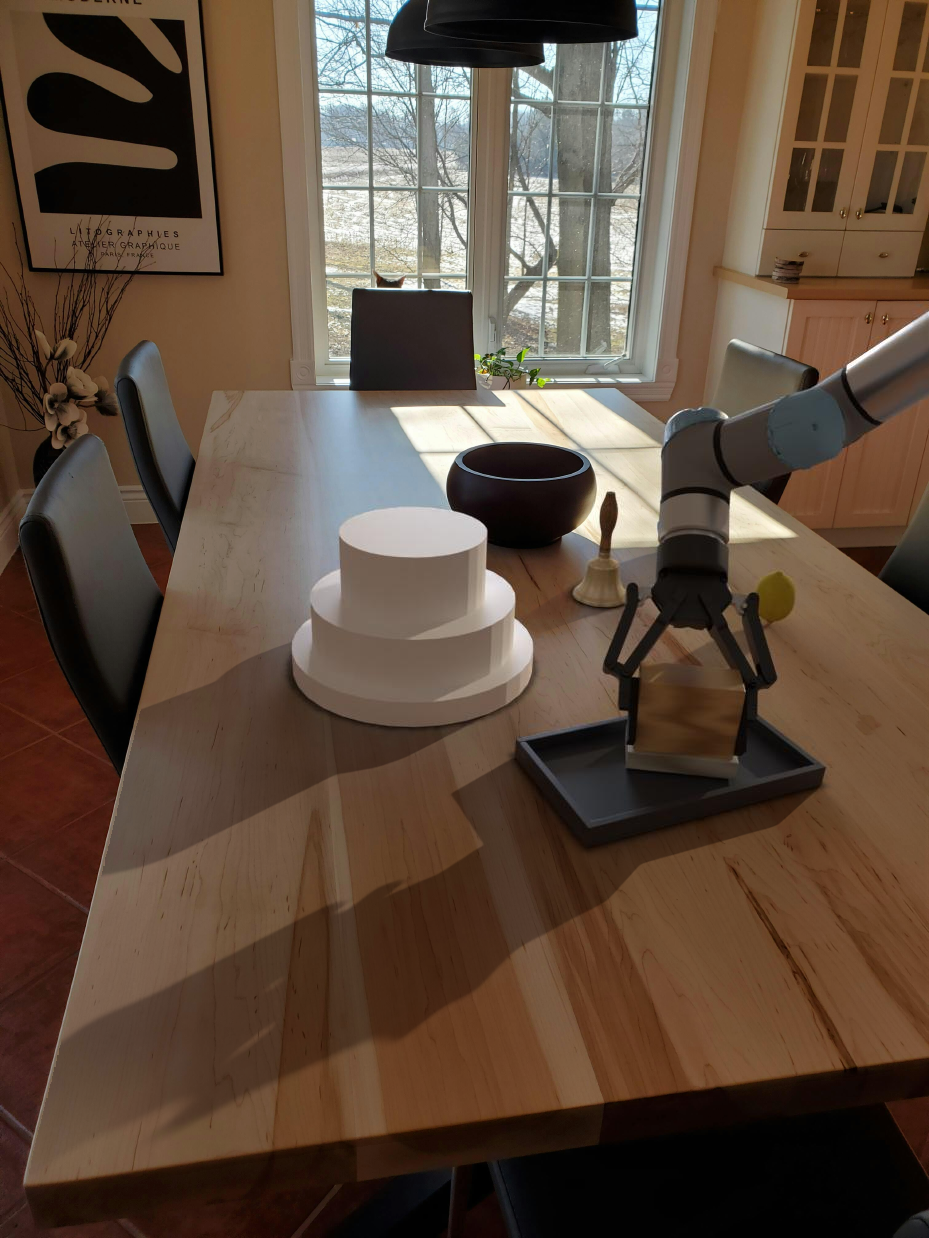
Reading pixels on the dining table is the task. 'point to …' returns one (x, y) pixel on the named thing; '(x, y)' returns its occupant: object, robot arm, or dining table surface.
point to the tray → (653, 779)
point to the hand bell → (603, 565)
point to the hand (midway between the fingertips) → (684, 747)
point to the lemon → (775, 596)
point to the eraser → (687, 720)
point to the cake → (412, 624)
